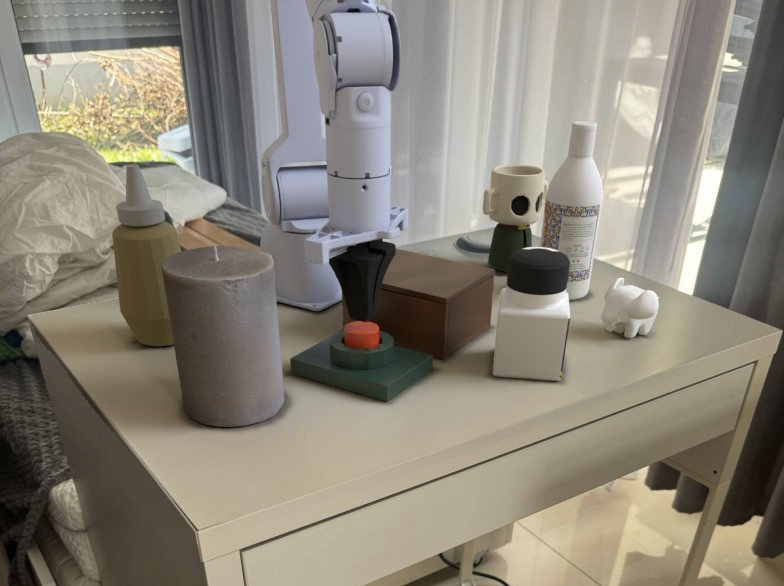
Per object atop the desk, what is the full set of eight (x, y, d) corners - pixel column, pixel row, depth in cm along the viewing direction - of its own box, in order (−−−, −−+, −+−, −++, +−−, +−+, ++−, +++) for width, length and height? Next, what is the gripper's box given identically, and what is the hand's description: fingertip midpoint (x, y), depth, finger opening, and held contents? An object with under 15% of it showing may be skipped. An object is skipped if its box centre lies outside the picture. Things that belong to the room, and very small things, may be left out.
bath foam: (541, 281, 106) (561, 116, 94) (592, 288, 104) (619, 120, 92) (529, 297, 100) (548, 124, 88) (582, 304, 98) (609, 129, 86)
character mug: (494, 282, 105) (503, 179, 97) (463, 268, 110) (469, 168, 102) (554, 269, 110) (567, 170, 102) (522, 256, 114) (532, 160, 107)
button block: (290, 373, 81) (288, 341, 79) (341, 345, 87) (339, 315, 85) (387, 402, 76) (387, 369, 74) (432, 370, 82) (434, 338, 80)
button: (337, 345, 79) (336, 329, 78) (357, 334, 81) (357, 318, 80) (366, 353, 78) (366, 336, 76) (386, 341, 80) (386, 325, 79)
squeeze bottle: (112, 337, 88) (74, 165, 77) (173, 319, 92) (145, 154, 82) (152, 358, 83) (117, 178, 72) (214, 337, 88) (190, 166, 77)
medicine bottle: (560, 382, 80) (578, 265, 73) (492, 377, 81) (502, 260, 74) (559, 355, 86) (575, 243, 78) (495, 350, 86) (505, 239, 79)
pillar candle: (167, 399, 76) (138, 241, 67) (256, 374, 80) (239, 224, 71) (213, 439, 69) (187, 271, 60) (305, 409, 74) (294, 250, 65)
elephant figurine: (581, 329, 92) (589, 279, 88) (632, 318, 95) (642, 269, 91) (620, 350, 87) (630, 298, 83) (672, 337, 90) (684, 287, 87)
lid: (335, 277, 86) (335, 272, 86) (390, 252, 94) (390, 247, 94) (446, 304, 80) (446, 298, 80) (494, 274, 88) (495, 269, 88)
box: (343, 334, 90) (341, 280, 86) (395, 305, 97) (395, 255, 94) (443, 360, 84) (446, 304, 80) (490, 327, 92) (494, 275, 88)
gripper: (348, 194, 63) (353, 351, 71) (436, 164, 73) (431, 305, 81) (281, 182, 66) (292, 334, 74) (374, 155, 76) (375, 292, 84)
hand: (361, 318), depth 78 cm, fingers closed
